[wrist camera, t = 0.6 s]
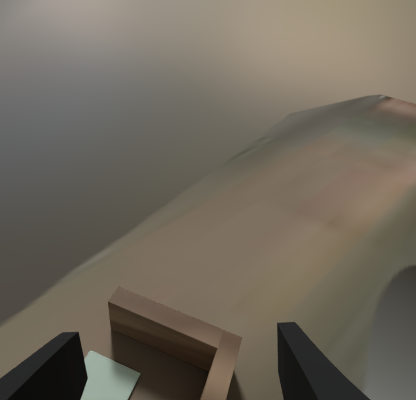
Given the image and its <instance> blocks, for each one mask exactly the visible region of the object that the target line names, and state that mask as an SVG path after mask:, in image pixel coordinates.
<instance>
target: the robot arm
mask: <svg viewBox="0 0 416 400" xmlns="http://www.w3.org/2000/svg"><path fill="white" fill-rule="evenodd" d="M277 332H278V373H279V378H280V383H281V388H282V393H283V398H284V400H370V399H369V398H368V397H367V396H366V395H364V394H363V393H362V392H361V391H360V390H359V389H358V388H357V387H356V386H355V385H354V384H352V383H351V382H350V381H349V380H348V379H347V378H346V377H345V376H344V375H343V374H342V373H341V372H340V371H339V370H338V369H337V368H336V367H335V366H334V365H333V364H332V363H331V362H330V361H329V360H328V359H327V358H326V357H325V355H324V354H323V353H322V352H321V351H320V350H319V349H318V348H317V347H316V346H315V344H314V343H313V342H312V341H311V340H310V339H309V338H308V336H307V335H306V334H305V333H304V332H303V331H302V329H301V328H300V327H299V326H298V325H297V324H296V323H295V322H286V323H277ZM87 380H88V376H87V371H86V366H85V361H84V356H83V351H82V347H81V342H80V337H79V332H64V333H61V334H59V335H58V336H56V337H55V338H54V339H52V340H51V341H49V342H48V343H47V344H45V345H44V346H43V347H41V348H40V349H39V350H38V351H36V352H35V353H34V354H32V355H31V356H30V357H28V358H27V359H26V360H24V361H23V362H22V363H20V364H19V365H18V366H16V367H15V368H14V369H12V370H11V371H10V372H8V373H7V374H6V375H4V376H3V377H2V378H0V400H81V397H82V395H83V392H84V389H85V386H86V383H87Z"/></svg>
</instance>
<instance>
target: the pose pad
mask: <svg viewBox="0 0 416 400" xmlns="http://www.w3.org/2000/svg"><path fill="white" fill-rule="evenodd" d="M84 361H85V366H86V371H87V376H88V380H87V383H86V386H85V389H84V392H83V395H82V397H81V400H128V398H129V396H130V394H131V392H132V390H133V388H134V386H135V384H136V382H137V380H138V378H139V376H140V374H141V373H139V372H136V371H134V370H132V369H130V368H128V367H126V366H124V365H121V364H119V363H117V362H115V361H113V360H111V359H108V358H106V357H104V356H102V355H100V354H98V353H95V352H93V351H91V350H90V352H89V353H88V355H87V356H86V358H85V359H84Z"/></svg>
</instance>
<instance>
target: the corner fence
mask: <svg viewBox="0 0 416 400" xmlns="http://www.w3.org/2000/svg"><path fill="white" fill-rule="evenodd" d="M108 306H109V316H110V325H111V329H113V330H115V331H117V332H120V333H122V334H124V335H126V336H129V337H131V338H133V339H135V340H138V341H140V342H142V343H145V344H147V345H149V346H151V347H154V348H156V349H158V350H160V351H163V352H165V353H167V354H169V355H172V356H174V357H176V358H178V359H181V360H183V361H185V362H187V363H190V364H192V365H194V366H196V367H199V368H201V369H203V370H205V371H208V372H209V373H208V376H207V379H206V382H205V385H204V388H203V392H202V395H201V398H200V400H226V397H227V393H228V390H229V386H230V382H231V378H232V374H233V371H234V367H235V363H236V359H237V355H238V352H239V348H240V344H241V340H242V337H239V336H237V335H235V334H232V333H230V332H227V331H225V330H223V329H220V328H218V327H215V326H213V325H211V324H208V323H206V322H203V321H201V320H198V319H196V318H194V317H191V316H189V315H186V314H184V313H182V312H179V311H177V310H174V309H172V308H169V307H167V306H165V305H162V304H160V303H157V302H155V301H153V300H150V299H148V298H145V297H143V296H140V295H138V294H136V293H133V292H131V291H128V290H126V289H124V288H121V287H118V288H117V289H116V291H115V292H114V294H113V295H112V296H111V298H110V299H109V301H108Z"/></svg>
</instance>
